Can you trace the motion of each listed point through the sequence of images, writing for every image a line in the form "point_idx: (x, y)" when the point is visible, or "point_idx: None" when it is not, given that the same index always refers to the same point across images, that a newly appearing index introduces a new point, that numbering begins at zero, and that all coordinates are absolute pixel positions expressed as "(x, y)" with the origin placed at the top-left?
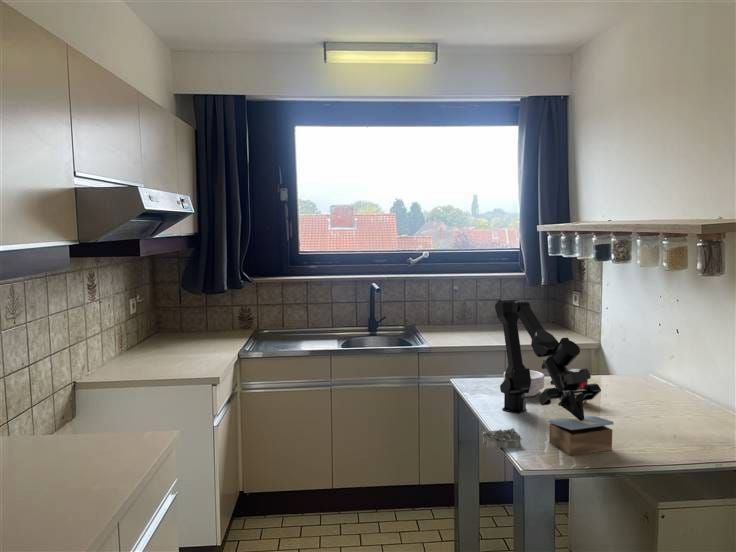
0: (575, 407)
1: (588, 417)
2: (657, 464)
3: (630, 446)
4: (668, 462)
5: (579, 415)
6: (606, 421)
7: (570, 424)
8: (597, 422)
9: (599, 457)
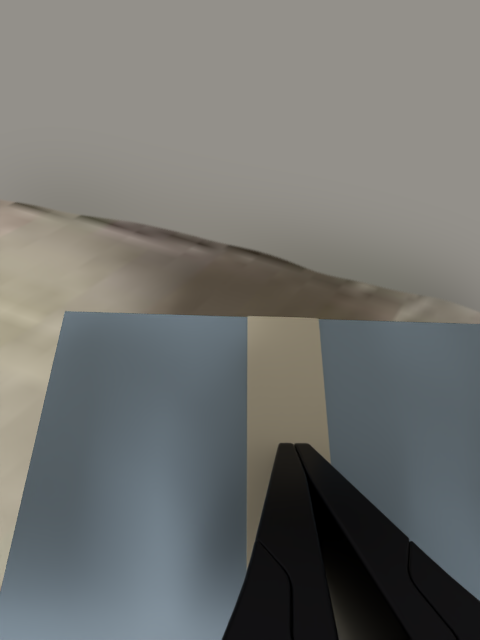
0: (416, 557)
1: (108, 592)
2: (98, 225)
3: (3, 389)
4: (44, 223)
5: (335, 472)
6: (109, 341)
7: (455, 403)
8: (202, 350)
9: None
